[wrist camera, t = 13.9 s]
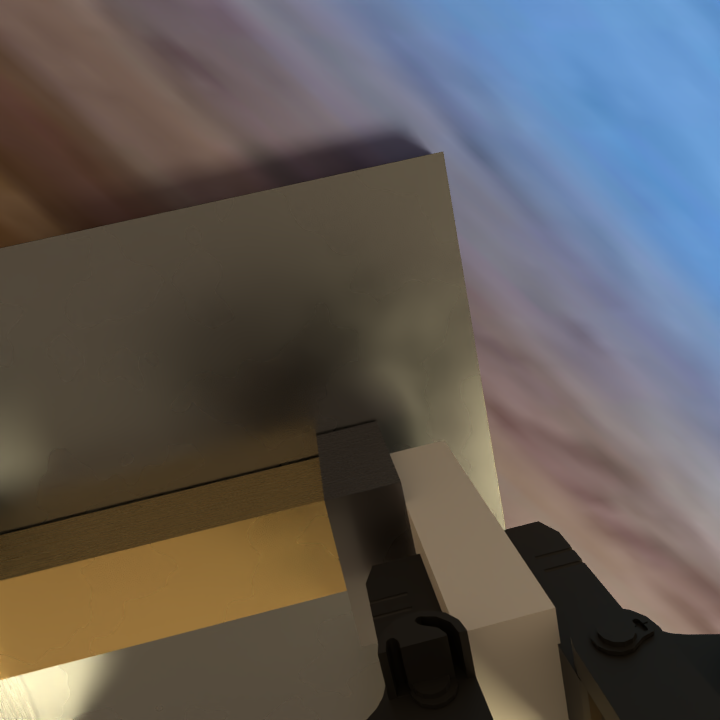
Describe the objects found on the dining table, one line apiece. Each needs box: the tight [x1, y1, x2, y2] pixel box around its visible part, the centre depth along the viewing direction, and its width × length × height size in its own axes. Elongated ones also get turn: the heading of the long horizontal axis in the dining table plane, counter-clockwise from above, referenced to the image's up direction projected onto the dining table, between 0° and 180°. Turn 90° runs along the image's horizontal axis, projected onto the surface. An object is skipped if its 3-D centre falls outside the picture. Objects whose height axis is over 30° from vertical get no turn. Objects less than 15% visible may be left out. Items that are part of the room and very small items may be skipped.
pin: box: [0, 421, 416, 680], centre depth 14 cm, size 11×4×4 cm, turn 102°
